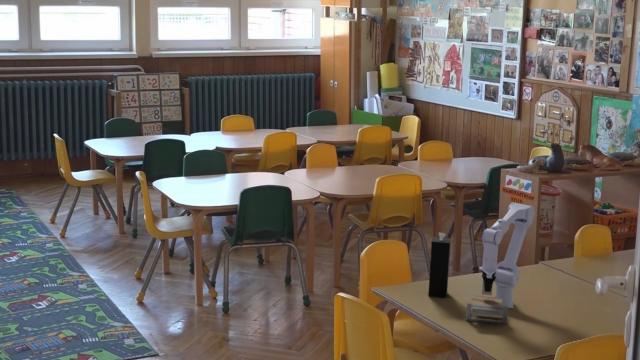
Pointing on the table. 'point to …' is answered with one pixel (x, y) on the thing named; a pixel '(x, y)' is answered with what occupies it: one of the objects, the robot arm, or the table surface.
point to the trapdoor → (487, 306)
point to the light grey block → (484, 290)
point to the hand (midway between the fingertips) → (487, 289)
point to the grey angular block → (503, 321)
